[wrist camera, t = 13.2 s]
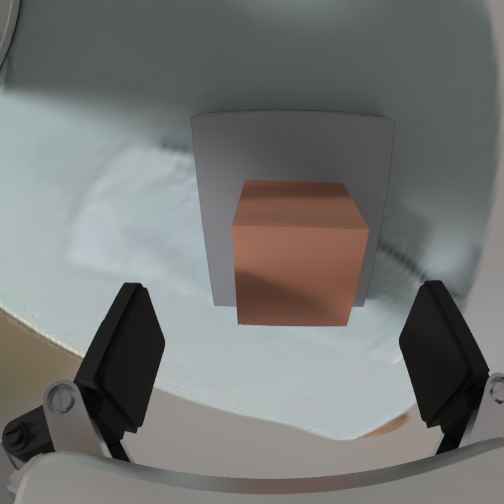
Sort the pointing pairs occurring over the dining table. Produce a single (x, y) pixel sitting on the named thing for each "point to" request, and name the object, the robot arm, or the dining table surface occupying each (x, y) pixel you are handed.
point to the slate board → (287, 172)
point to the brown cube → (296, 253)
